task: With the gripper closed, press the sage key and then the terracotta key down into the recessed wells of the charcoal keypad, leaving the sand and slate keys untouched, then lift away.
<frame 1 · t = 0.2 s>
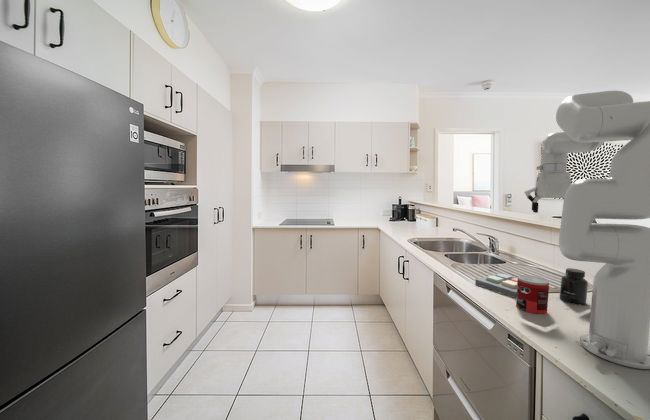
hand: (550, 212, 103), 31 cm above the counter, tool pointing down, fingers open, 9 cm apart
canned food: (530, 312, 85), on the counter
sand key: (510, 285, 101), point 3 cm above the counter, slide at 0.0 cm
keypad: (506, 289, 105), on the counter
slate key: (503, 277, 109), point 3 cm above the counter, slide at 0.0 cm
supplement bottle: (572, 304, 91), on the counter
terracotta key: (519, 282, 103), point 3 cm above the counter, slide at 0.0 cm
sage key: (495, 280, 106), point 3 cm above the counter, slide at 0.0 cm
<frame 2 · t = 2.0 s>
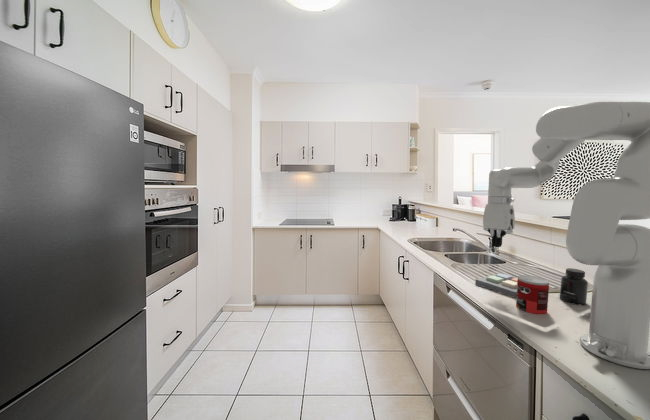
hand: (496, 246, 105), 17 cm above the counter, tool pointing down, fingers closed
nothing on the counter moved.
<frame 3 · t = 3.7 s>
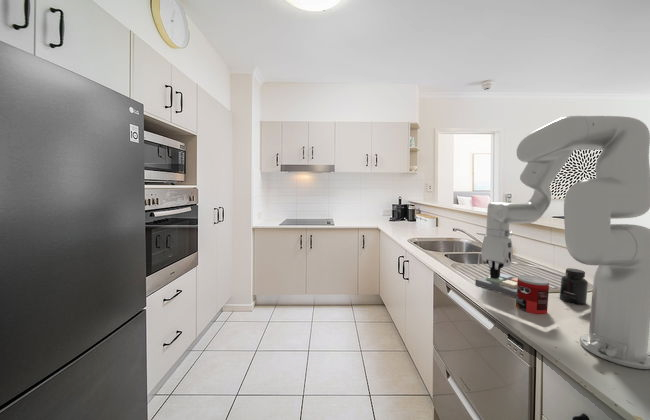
hand: (494, 277, 106), 4 cm above the counter, tool pointing down, fingers closed
sage key: (495, 280, 106), point 3 cm above the counter, slide at 0.1 cm, touching gripper
everything else where it was.
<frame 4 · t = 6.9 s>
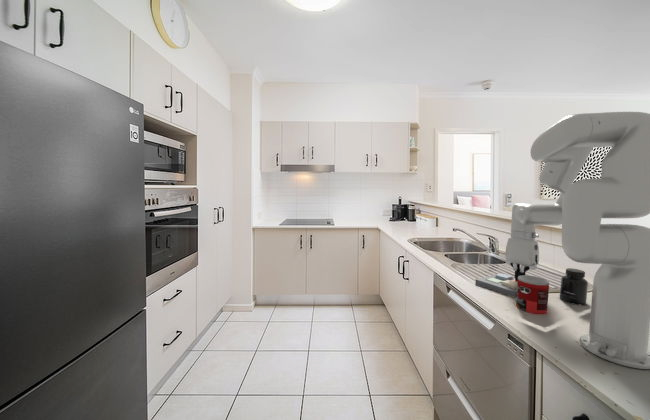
hand: (519, 280, 103), 4 cm above the counter, tool pointing down, fingers closed
terracotta key: (519, 283, 103), point 3 cm above the counter, slide at 0.5 cm, touching gripper
sage key: (494, 282, 106), point 2 cm above the counter, slide at 1.0 cm
everything else where it was.
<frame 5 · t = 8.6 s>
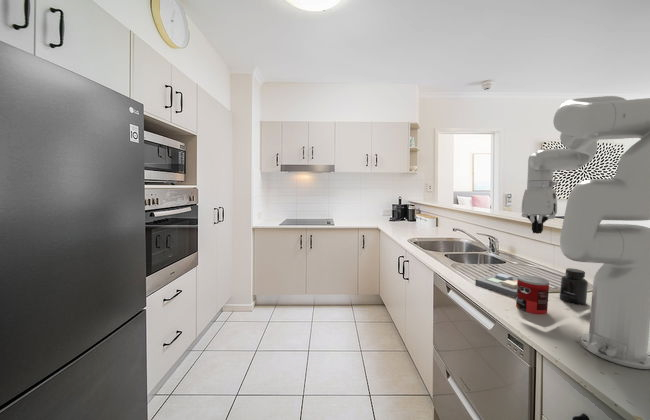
hand: (537, 233, 101), 23 cm above the counter, tool pointing down, fingers closed
terracotta key: (519, 285, 103), point 2 cm above the counter, slide at 1.0 cm
everything else where it was.
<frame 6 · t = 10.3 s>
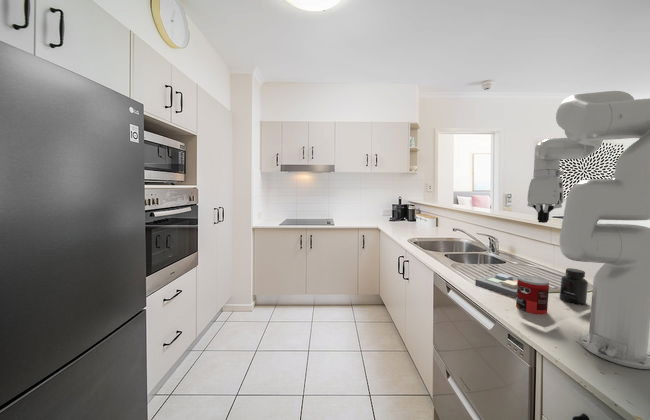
hand: (542, 222, 102), 27 cm above the counter, tool pointing down, fingers closed
nothing on the counter moved.
at the end: sage key slide at 1.0 cm; terracotta key slide at 1.0 cm; sand key slide at 0.0 cm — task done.
